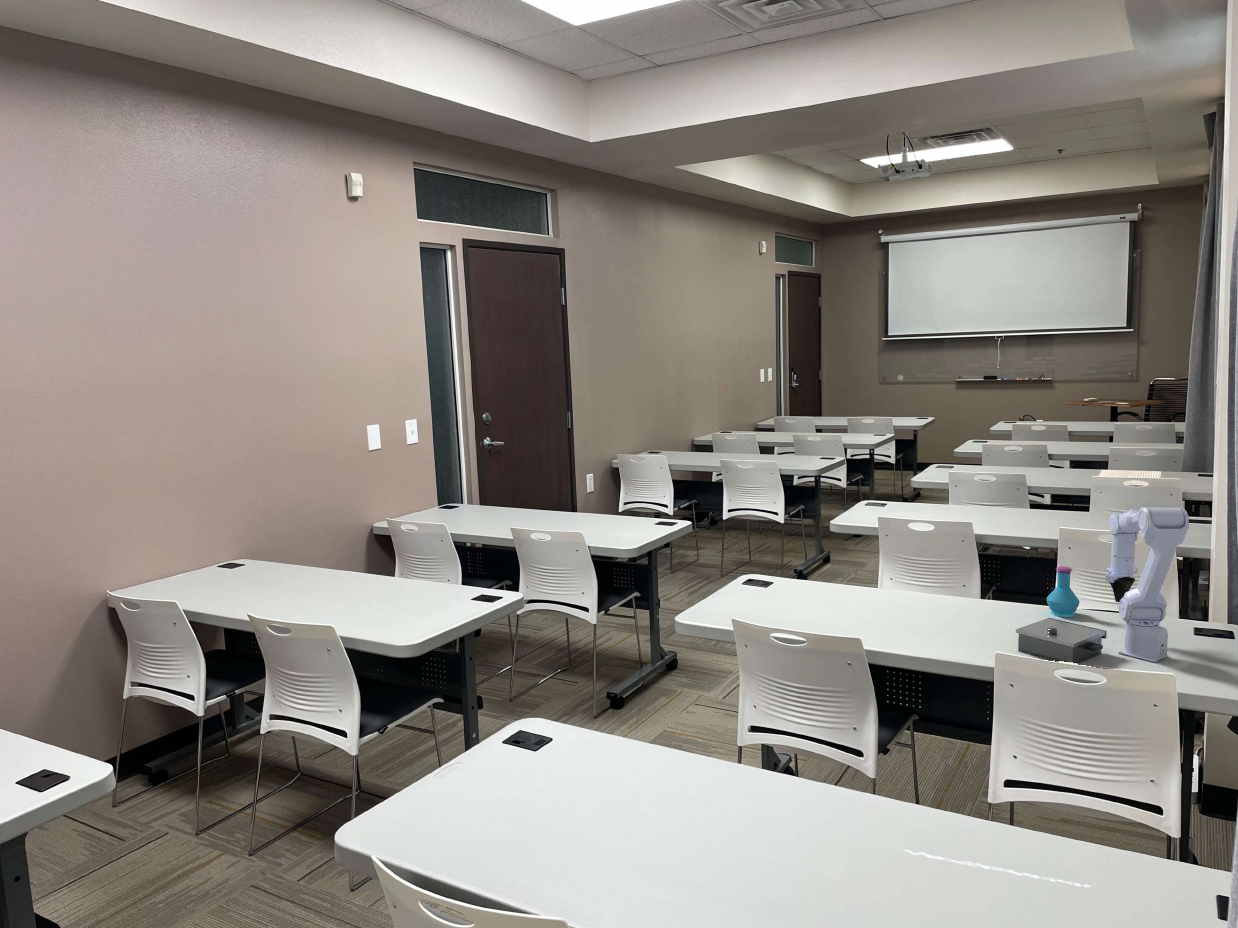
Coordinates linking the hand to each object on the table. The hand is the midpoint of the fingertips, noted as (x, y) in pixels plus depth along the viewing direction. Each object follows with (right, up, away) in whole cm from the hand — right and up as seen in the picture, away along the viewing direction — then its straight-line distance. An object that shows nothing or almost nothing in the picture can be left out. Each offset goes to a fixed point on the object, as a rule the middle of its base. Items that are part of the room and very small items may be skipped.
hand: (1120, 601), depth 246 cm
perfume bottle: (-4, -8, +24) cm, 26 cm away
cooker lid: (-22, -8, -10) cm, 26 cm away
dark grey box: (-23, -12, -10) cm, 28 cm away
